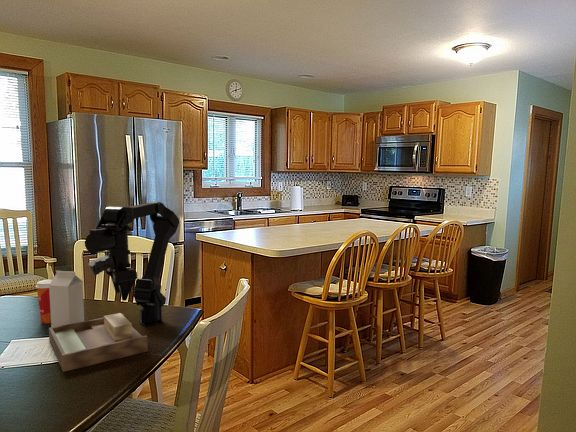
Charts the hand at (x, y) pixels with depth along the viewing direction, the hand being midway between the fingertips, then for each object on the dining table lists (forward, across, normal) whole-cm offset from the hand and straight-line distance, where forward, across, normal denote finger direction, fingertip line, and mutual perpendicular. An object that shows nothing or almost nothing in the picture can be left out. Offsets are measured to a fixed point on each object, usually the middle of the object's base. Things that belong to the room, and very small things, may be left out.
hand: (120, 296), depth 133 cm
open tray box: (+13, +4, -8) cm, 16 cm away
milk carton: (+13, -19, -13) cm, 27 cm away
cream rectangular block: (+10, +3, -2) cm, 11 cm away
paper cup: (+13, -29, -18) cm, 36 cm away
